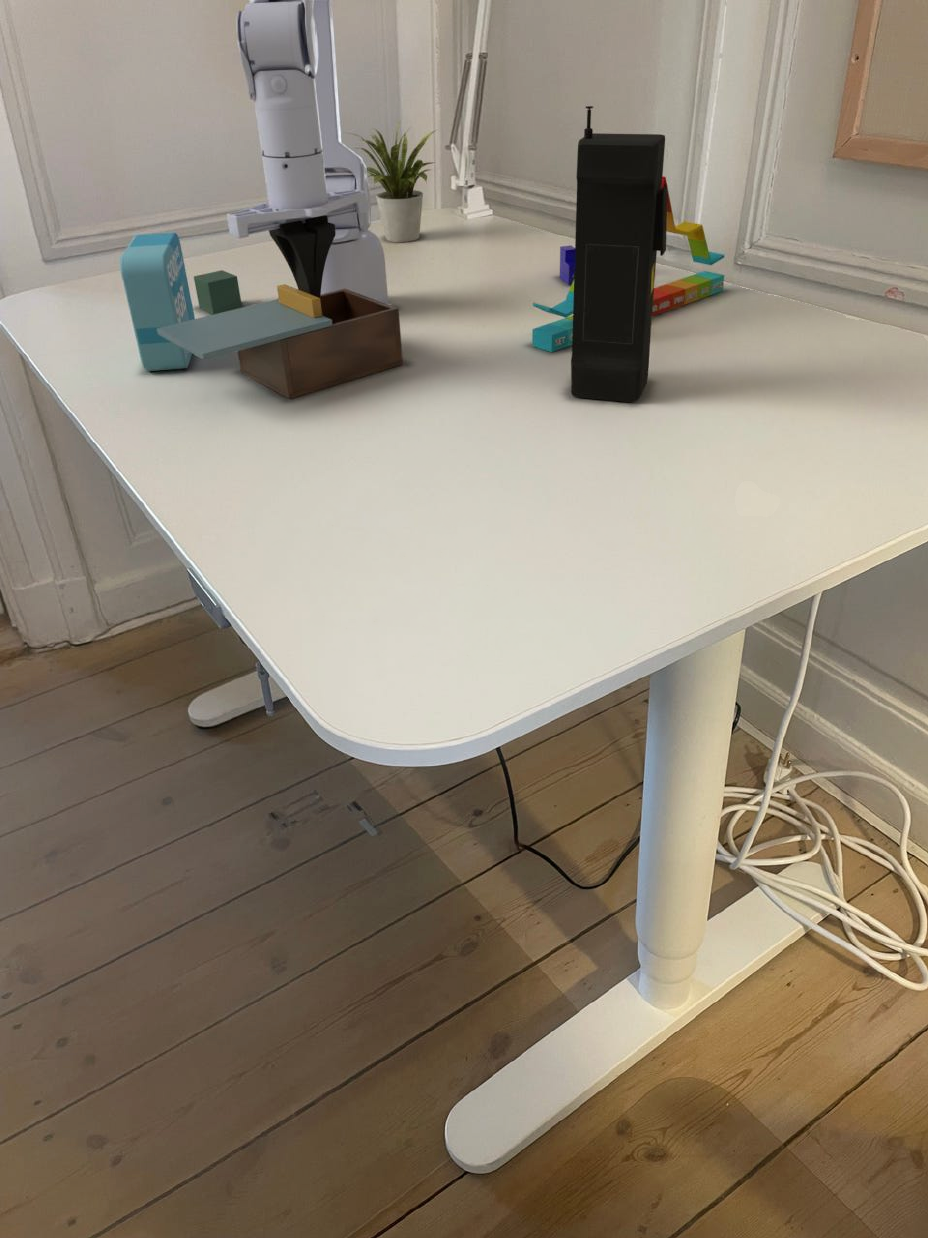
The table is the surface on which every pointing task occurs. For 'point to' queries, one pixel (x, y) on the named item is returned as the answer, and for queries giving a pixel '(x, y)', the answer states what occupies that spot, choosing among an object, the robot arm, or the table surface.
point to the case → (329, 347)
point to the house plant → (398, 188)
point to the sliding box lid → (249, 325)
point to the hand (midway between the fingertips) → (310, 298)
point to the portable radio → (616, 261)
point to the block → (217, 292)
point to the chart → (664, 296)
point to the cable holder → (567, 264)
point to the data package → (157, 297)
